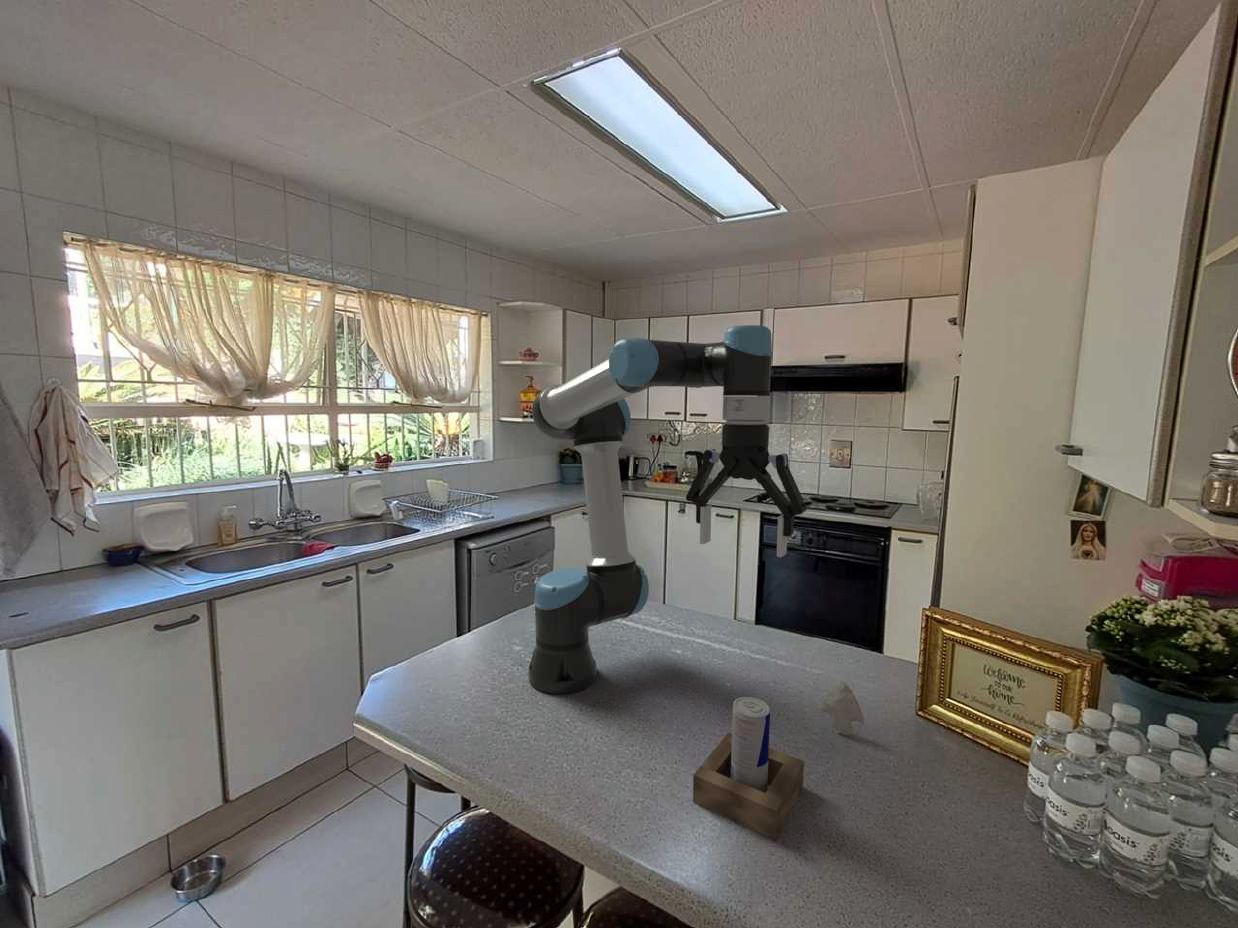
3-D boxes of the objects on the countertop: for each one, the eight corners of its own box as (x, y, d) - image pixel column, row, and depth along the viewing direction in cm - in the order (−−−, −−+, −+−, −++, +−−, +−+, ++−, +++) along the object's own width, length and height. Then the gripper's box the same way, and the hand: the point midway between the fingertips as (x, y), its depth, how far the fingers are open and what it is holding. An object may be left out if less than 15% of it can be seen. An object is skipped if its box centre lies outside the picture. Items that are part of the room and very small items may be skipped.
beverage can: (768, 810, 83) (771, 718, 81) (730, 804, 84) (733, 713, 82) (765, 784, 88) (769, 697, 86) (730, 779, 90) (733, 693, 88)
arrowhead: (865, 736, 101) (868, 685, 100) (861, 744, 99) (864, 691, 98) (820, 721, 106) (823, 672, 104) (816, 728, 103) (819, 678, 102)
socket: (692, 801, 85) (693, 774, 84) (727, 756, 95) (728, 732, 95) (775, 840, 77) (776, 811, 77) (802, 786, 88) (804, 760, 87)
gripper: (668, 421, 94) (666, 541, 97) (817, 426, 80) (810, 567, 82) (688, 419, 100) (686, 533, 103) (830, 423, 86) (823, 555, 89)
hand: (741, 548), depth 93 cm, fingers open, 13 cm apart
